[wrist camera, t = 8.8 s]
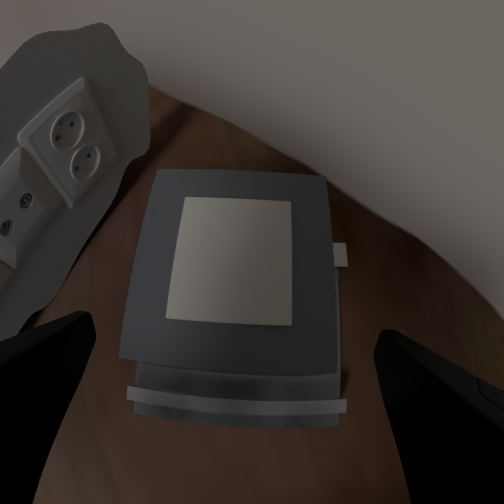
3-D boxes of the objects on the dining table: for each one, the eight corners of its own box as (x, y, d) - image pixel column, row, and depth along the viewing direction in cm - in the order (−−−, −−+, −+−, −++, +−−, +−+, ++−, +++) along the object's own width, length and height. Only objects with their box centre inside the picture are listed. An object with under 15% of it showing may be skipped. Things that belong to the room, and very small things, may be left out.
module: (278, 377, 15) (338, 373, 5) (197, 372, 15) (116, 357, 5) (281, 293, 18) (326, 171, 8) (205, 289, 18) (157, 164, 8)
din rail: (335, 424, 15) (350, 430, 12) (136, 412, 15) (120, 416, 12) (333, 257, 19) (345, 239, 17) (157, 248, 19) (146, 229, 17)
